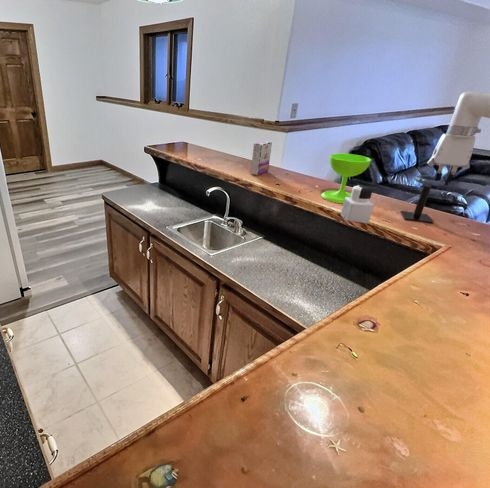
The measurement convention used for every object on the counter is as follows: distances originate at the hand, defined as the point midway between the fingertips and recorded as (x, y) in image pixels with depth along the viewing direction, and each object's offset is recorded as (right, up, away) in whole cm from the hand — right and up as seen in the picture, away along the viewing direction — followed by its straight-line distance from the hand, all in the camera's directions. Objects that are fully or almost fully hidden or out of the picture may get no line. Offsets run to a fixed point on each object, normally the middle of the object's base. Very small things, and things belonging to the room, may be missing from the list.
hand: (440, 183), depth 126 cm
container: (-28, -13, +7) cm, 31 cm away
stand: (-4, -13, +8) cm, 15 cm away
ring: (-3, +1, +1) cm, 4 cm away
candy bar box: (-48, +17, +66) cm, 83 cm away
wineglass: (-22, -2, +30) cm, 37 cm away
